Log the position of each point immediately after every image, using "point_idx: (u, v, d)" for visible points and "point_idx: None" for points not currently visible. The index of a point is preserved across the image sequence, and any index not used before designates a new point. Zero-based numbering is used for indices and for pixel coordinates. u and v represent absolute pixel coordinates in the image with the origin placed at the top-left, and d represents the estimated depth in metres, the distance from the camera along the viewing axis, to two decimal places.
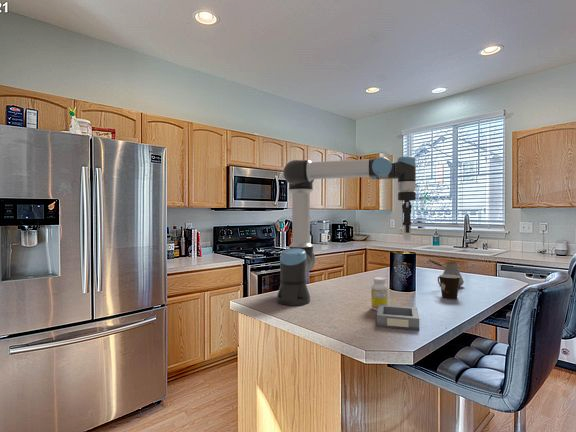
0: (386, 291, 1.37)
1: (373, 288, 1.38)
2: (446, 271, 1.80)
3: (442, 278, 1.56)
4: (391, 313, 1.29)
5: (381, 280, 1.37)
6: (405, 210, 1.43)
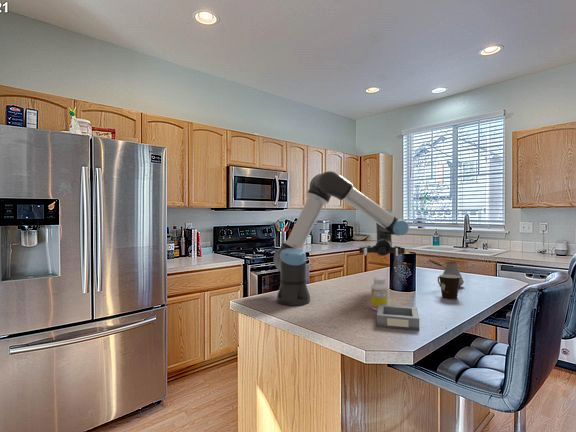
0: (386, 291, 1.37)
1: (373, 288, 1.38)
2: (446, 271, 1.80)
3: (442, 278, 1.56)
4: (391, 313, 1.29)
5: (381, 280, 1.37)
6: None
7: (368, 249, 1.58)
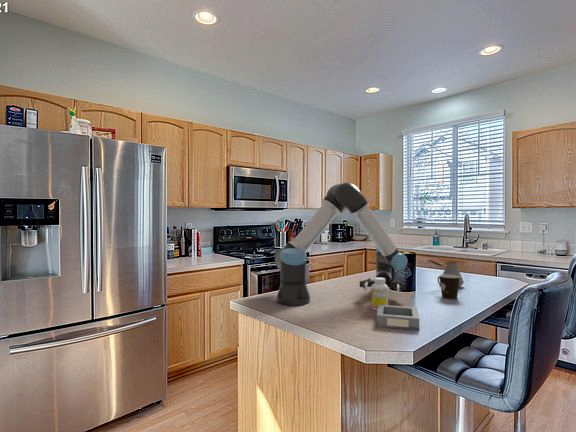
0: (386, 291, 1.37)
1: (373, 288, 1.38)
2: (446, 271, 1.80)
3: (442, 278, 1.56)
4: (391, 313, 1.29)
5: (381, 280, 1.37)
6: None
7: (368, 283, 1.55)
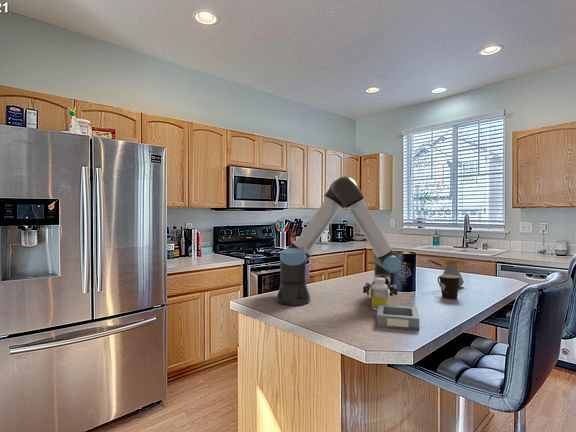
0: (386, 291, 1.37)
1: (373, 288, 1.38)
2: (446, 271, 1.80)
3: (442, 278, 1.56)
4: (391, 313, 1.29)
5: (381, 280, 1.37)
6: (396, 287, 1.45)
7: None
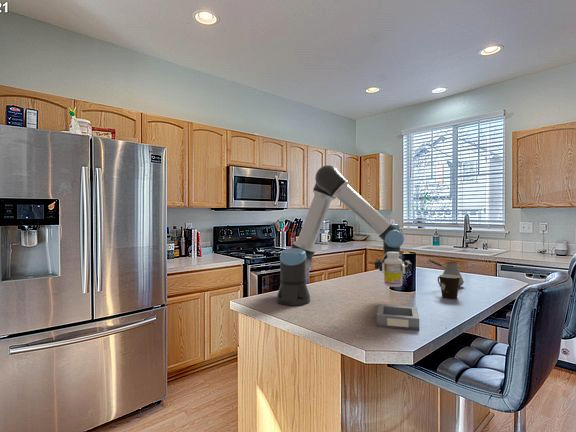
0: (400, 265, 1.28)
1: (386, 262, 1.28)
2: (446, 271, 1.80)
3: (442, 278, 1.56)
4: (391, 313, 1.29)
5: (395, 254, 1.28)
6: (409, 262, 1.36)
7: None
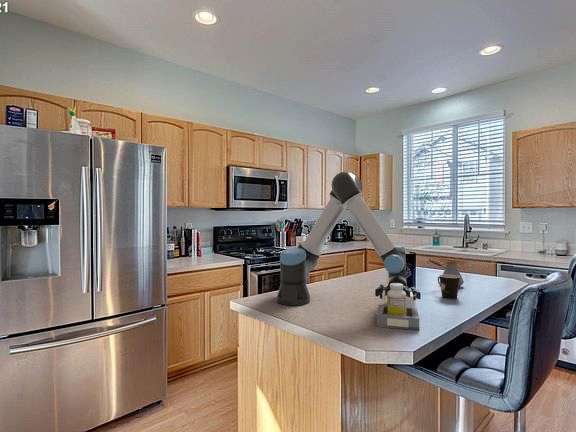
0: (404, 299, 1.21)
1: (389, 295, 1.22)
2: (446, 271, 1.80)
3: (442, 278, 1.56)
4: None
5: (399, 286, 1.21)
6: None
7: (385, 291, 1.28)
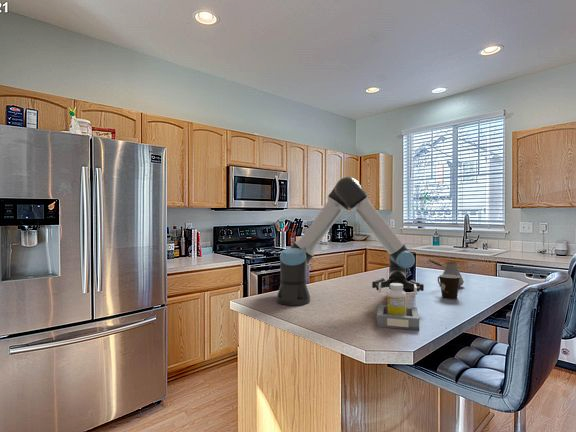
0: (404, 299, 1.21)
1: (389, 295, 1.22)
2: (446, 271, 1.80)
3: (442, 278, 1.56)
4: None
5: (399, 286, 1.21)
6: None
7: (382, 284, 1.42)
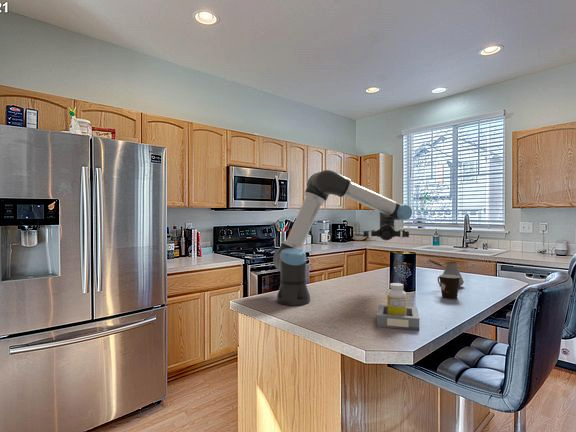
0: (405, 299, 1.21)
1: (390, 295, 1.22)
2: (446, 271, 1.80)
3: (442, 278, 1.56)
4: None
5: (399, 286, 1.21)
6: None
7: (372, 233, 1.59)
